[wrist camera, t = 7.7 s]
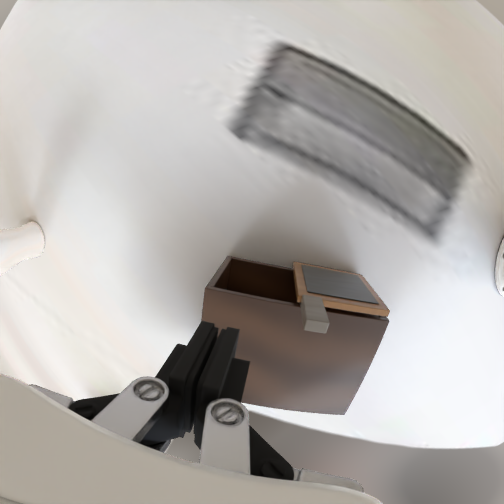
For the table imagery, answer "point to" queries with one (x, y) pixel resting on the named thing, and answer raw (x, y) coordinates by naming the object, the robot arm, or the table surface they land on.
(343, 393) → the cabinet
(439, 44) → the table surface
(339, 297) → the sliding door
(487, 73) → the table surface
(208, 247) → the table surface
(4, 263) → the beer glass
